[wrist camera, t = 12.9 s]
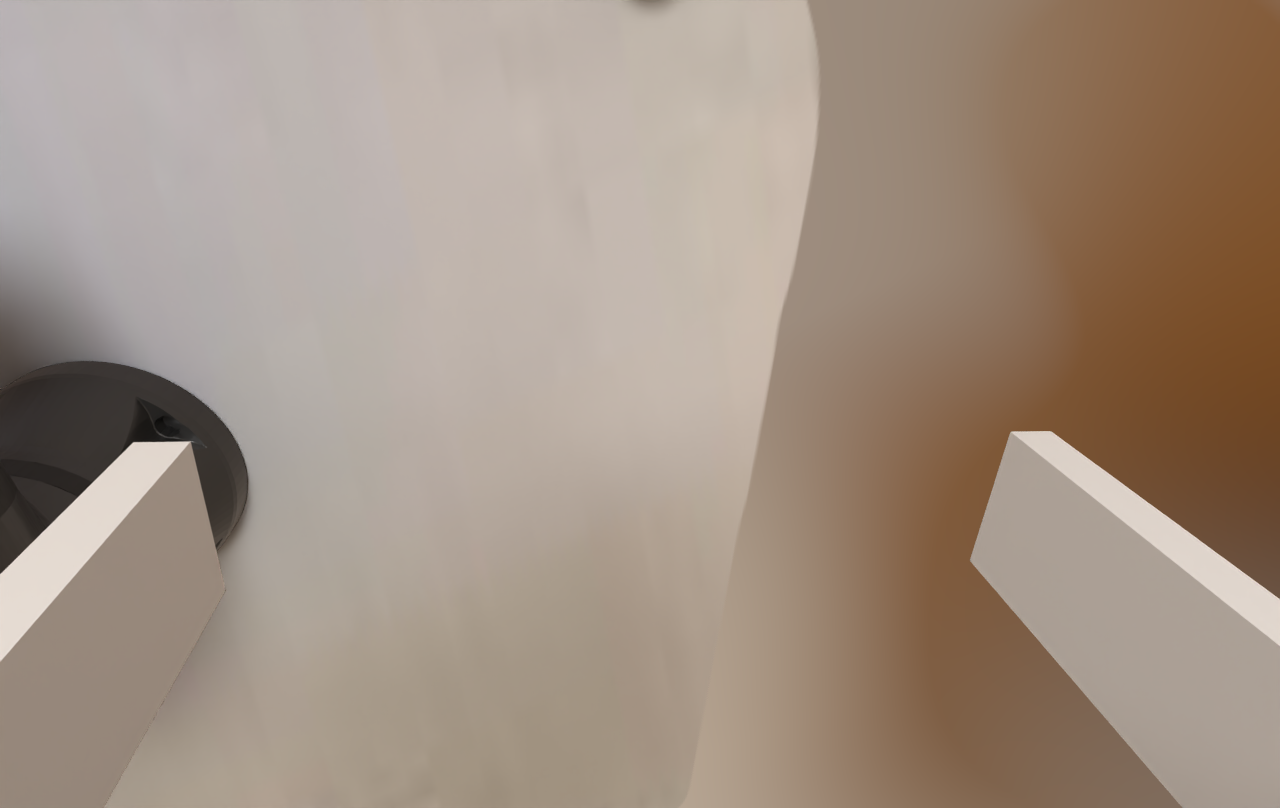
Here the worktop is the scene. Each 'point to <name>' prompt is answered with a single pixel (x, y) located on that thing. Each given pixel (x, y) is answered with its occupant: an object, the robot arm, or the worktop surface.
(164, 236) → the worktop surface
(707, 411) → the worktop surface
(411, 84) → the worktop surface
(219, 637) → the worktop surface
